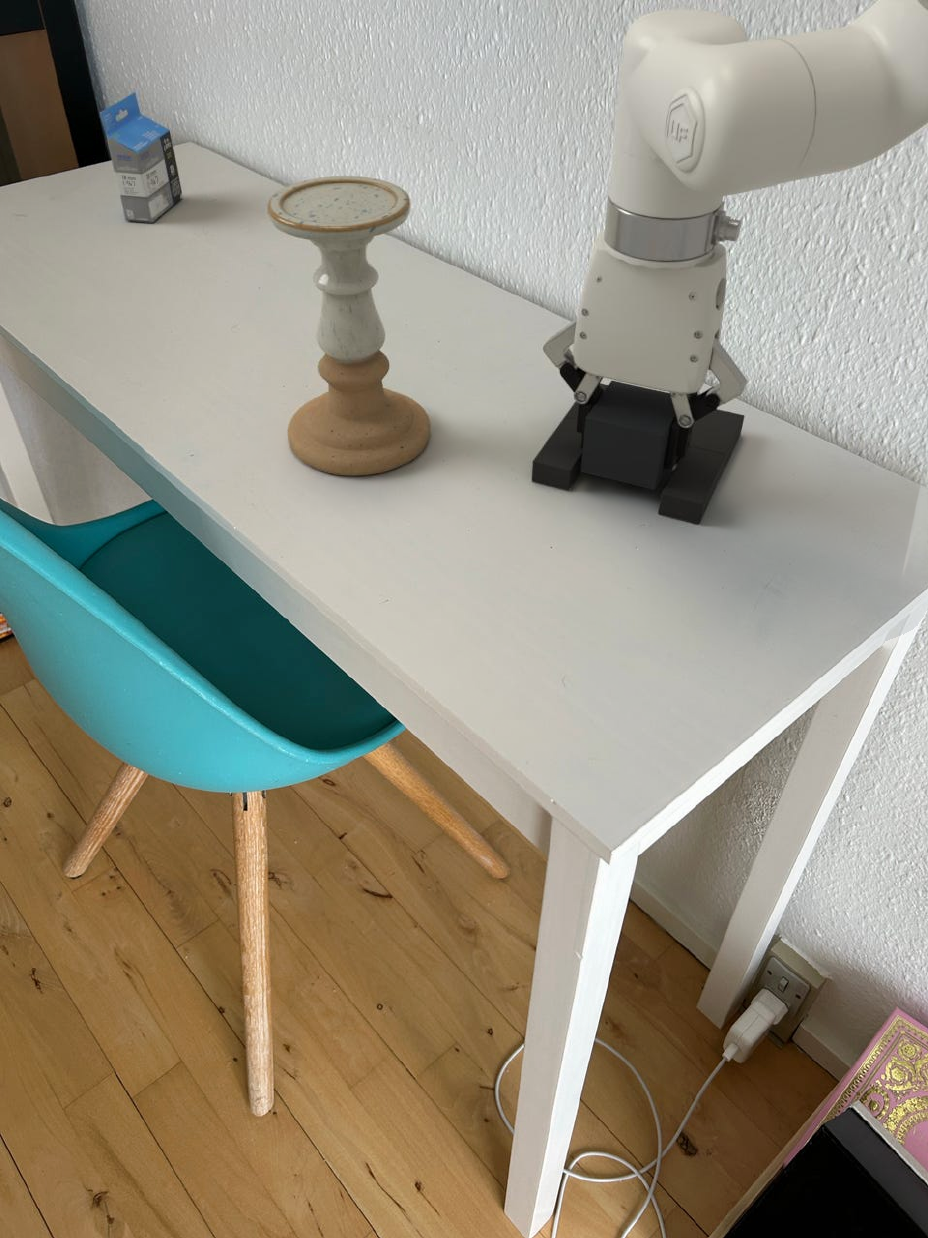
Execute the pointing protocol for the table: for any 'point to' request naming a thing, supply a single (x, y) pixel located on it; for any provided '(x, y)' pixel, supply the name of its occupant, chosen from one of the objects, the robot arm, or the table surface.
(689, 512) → the base pad
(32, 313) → the table surface
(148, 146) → the ink cartridge box
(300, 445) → the candle holder
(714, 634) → the table surface
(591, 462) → the black cube block
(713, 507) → the table surface
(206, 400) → the table surface
